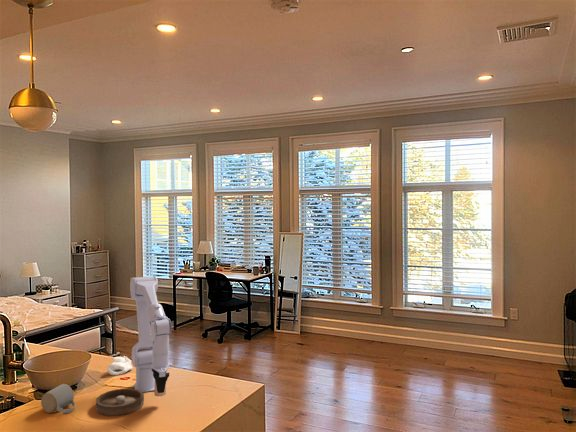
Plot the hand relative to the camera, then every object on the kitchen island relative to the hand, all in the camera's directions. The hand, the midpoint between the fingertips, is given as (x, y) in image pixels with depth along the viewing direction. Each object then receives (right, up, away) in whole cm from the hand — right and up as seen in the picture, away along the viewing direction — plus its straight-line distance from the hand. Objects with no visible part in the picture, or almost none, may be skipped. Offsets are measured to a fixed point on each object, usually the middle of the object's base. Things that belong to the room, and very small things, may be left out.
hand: (160, 390), depth 161 cm
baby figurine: (-27, -6, +34) cm, 43 cm away
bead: (0, -2, 0) cm, 2 cm away
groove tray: (-14, -5, -1) cm, 15 cm away
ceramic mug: (-34, -5, -4) cm, 35 cm away
